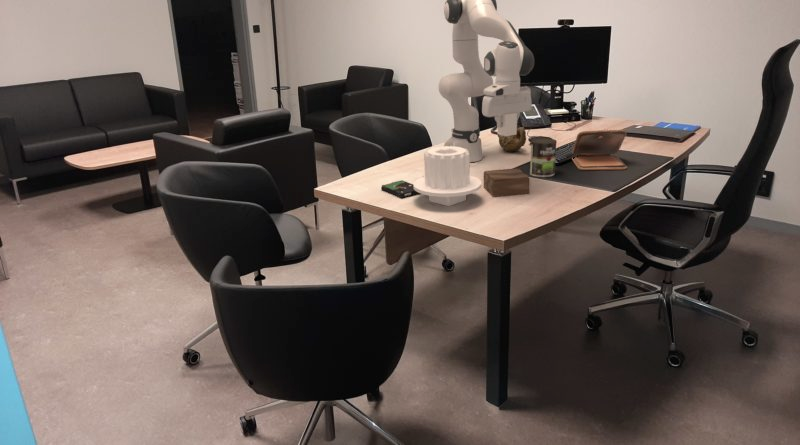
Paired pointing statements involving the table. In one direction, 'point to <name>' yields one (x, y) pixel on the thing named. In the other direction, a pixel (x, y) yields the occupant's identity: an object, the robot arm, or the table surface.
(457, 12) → the robot arm
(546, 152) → the coffee can
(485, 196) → the table surface
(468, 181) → the ribbed cylinder on disc
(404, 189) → the disk drive
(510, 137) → the teapot
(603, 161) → the case
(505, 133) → the white block
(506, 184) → the walnut box
